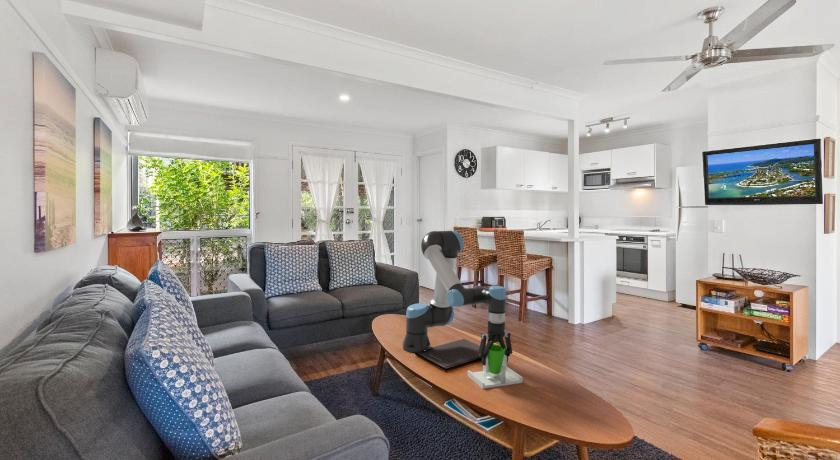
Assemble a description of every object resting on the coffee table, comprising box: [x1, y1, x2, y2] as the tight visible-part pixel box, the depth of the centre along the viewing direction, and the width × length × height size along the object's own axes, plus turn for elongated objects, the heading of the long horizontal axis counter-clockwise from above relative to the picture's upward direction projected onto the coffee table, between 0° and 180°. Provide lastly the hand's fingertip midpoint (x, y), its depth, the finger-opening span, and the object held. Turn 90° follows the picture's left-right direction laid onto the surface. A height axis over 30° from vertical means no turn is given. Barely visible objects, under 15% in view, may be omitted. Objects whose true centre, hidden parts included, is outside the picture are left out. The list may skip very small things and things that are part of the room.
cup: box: [487, 343, 507, 374], centre depth 181 cm, size 9×9×11 cm
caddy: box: [467, 357, 524, 390], centre depth 181 cm, size 16×20×8 cm
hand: (494, 370), depth 181 cm, fingers closed on cup, 9 cm apart
